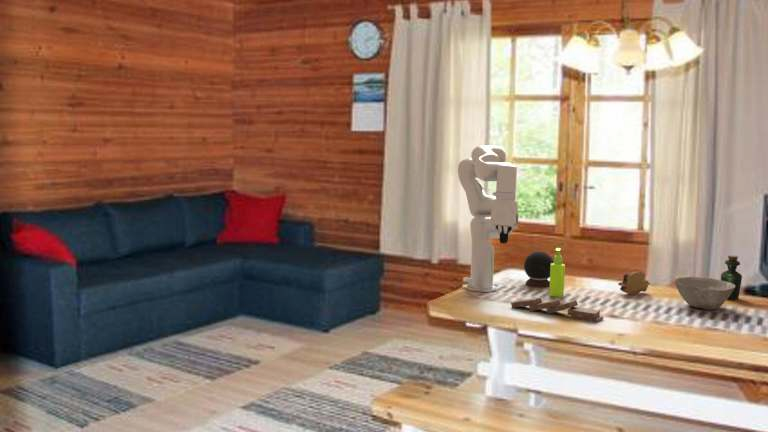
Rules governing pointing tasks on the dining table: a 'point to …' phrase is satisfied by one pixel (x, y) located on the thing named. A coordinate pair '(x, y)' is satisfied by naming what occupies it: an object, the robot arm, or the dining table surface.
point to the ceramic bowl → (704, 291)
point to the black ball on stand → (538, 269)
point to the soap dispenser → (557, 276)
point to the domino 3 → (562, 307)
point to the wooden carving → (634, 283)
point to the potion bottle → (732, 276)
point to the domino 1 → (526, 302)
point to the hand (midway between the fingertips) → (503, 242)
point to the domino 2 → (545, 305)
